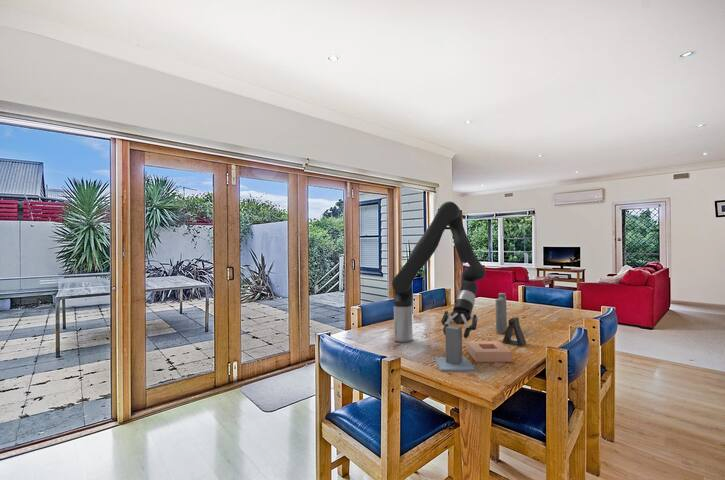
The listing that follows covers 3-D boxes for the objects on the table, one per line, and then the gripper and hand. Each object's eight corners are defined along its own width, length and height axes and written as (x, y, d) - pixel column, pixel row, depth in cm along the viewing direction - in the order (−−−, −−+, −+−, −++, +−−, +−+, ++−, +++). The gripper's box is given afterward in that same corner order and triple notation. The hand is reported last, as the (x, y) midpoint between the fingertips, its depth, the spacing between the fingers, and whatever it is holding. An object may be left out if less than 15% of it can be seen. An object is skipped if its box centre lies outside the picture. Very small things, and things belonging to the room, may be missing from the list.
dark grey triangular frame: (526, 343, 163) (525, 318, 163) (522, 346, 158) (521, 320, 158) (506, 339, 169) (506, 315, 169) (502, 342, 164) (501, 317, 164)
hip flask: (501, 326, 194) (500, 290, 194) (508, 327, 192) (507, 291, 192) (495, 333, 181) (494, 295, 181) (503, 334, 179) (503, 295, 179)
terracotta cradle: (476, 361, 140) (476, 352, 140) (466, 350, 155) (466, 341, 155) (511, 361, 140) (511, 351, 140) (498, 349, 154) (498, 341, 154)
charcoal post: (446, 362, 138) (445, 327, 138) (450, 358, 142) (450, 324, 142) (458, 364, 135) (457, 329, 135) (462, 360, 140) (461, 326, 139)
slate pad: (440, 371, 131) (440, 369, 131) (434, 359, 144) (434, 357, 144) (475, 370, 131) (474, 368, 131) (465, 358, 144) (465, 356, 144)
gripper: (446, 296, 151) (435, 328, 142) (479, 299, 143) (469, 333, 134) (451, 306, 156) (441, 337, 147) (483, 310, 147) (474, 343, 138)
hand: (454, 335), depth 140 cm, fingers open, 8 cm apart
